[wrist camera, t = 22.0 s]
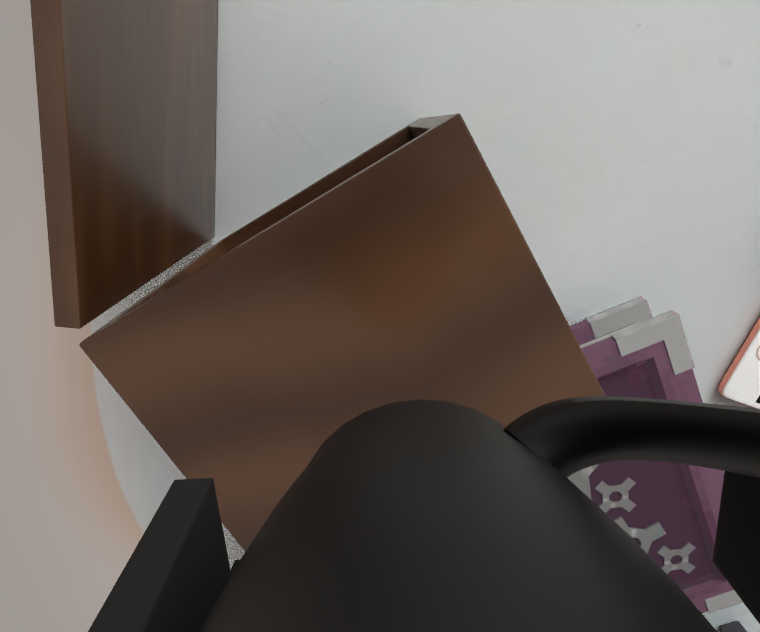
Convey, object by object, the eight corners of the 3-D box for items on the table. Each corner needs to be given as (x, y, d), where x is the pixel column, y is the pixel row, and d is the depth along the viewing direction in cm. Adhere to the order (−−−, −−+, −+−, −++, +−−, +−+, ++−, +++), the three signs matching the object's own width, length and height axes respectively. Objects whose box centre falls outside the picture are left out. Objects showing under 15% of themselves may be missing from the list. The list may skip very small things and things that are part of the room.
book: (727, 550, 50) (763, 595, 46) (549, 611, 52) (566, 659, 48) (645, 293, 43) (678, 314, 38) (443, 375, 45) (451, 405, 40)
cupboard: (214, 244, 42) (77, 344, 23) (420, 117, 39) (459, 112, 20) (318, 396, 46) (275, 590, 27) (513, 290, 43) (619, 422, 24)
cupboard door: (118, 226, 41) (-98, 312, 23) (108, -46, 36) (-185, -230, 17) (214, 236, 42) (80, 329, 23) (218, -33, 36) (47, -200, 18)
